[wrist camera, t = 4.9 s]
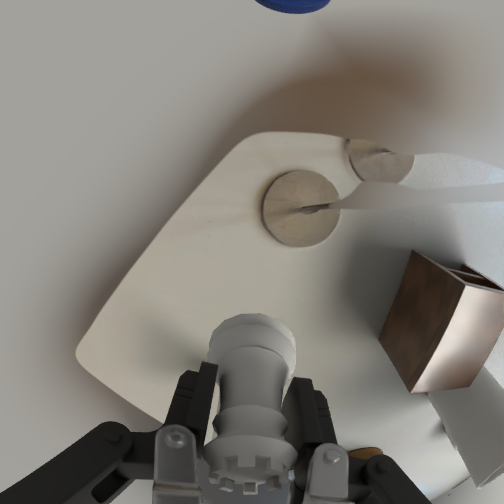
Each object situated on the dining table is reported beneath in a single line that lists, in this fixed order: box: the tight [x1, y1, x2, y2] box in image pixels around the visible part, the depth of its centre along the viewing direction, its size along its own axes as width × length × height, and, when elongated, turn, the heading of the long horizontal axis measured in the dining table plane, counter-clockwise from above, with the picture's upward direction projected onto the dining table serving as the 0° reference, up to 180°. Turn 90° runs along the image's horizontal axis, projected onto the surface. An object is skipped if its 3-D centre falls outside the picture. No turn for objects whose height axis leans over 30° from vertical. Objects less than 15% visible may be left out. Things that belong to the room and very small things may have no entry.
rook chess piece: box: [201, 313, 298, 494], centre depth 10 cm, size 4×4×8 cm
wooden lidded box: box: [378, 250, 504, 393], centre depth 29 cm, size 14×12×12 cm
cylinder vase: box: [428, 366, 504, 489], centre depth 28 cm, size 12×12×25 cm
